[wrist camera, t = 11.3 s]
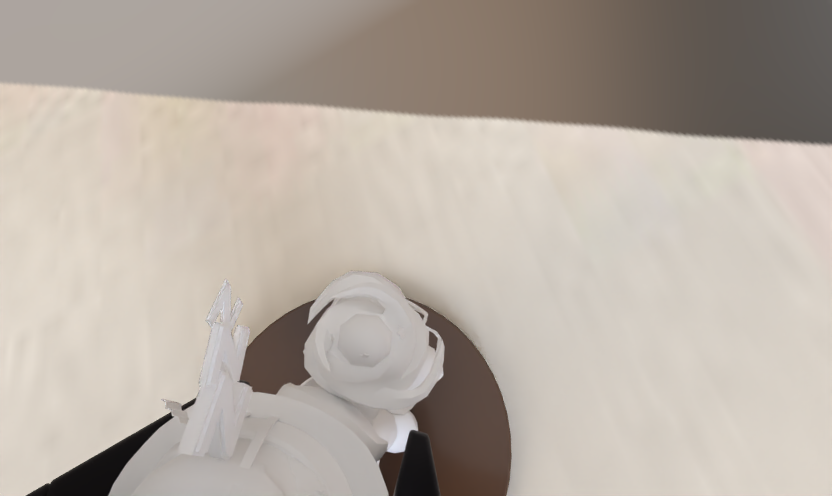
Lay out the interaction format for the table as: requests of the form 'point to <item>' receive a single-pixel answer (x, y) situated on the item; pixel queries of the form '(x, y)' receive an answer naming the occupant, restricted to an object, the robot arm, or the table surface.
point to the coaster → (435, 414)
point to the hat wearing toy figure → (298, 404)
